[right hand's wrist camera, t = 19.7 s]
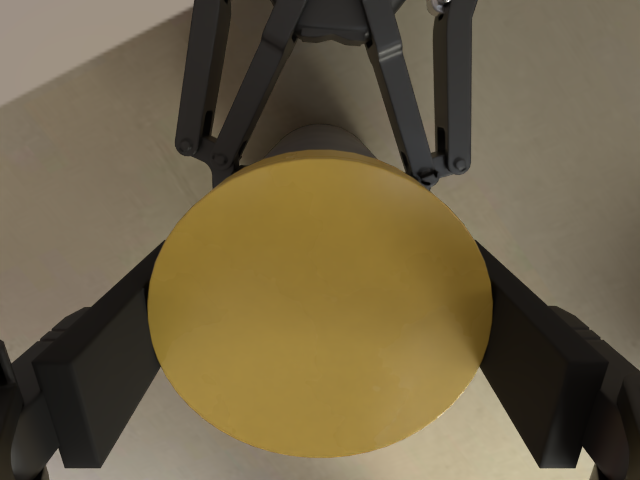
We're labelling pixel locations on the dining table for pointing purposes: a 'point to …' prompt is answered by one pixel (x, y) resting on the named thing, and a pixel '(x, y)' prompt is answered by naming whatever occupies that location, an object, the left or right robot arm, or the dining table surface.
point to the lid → (320, 305)
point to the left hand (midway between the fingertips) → (315, 276)
